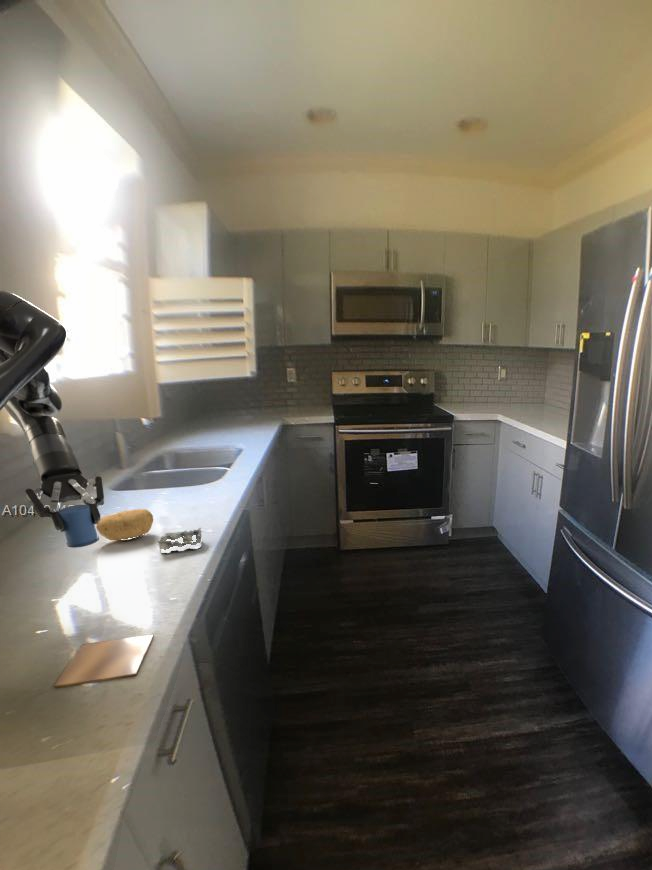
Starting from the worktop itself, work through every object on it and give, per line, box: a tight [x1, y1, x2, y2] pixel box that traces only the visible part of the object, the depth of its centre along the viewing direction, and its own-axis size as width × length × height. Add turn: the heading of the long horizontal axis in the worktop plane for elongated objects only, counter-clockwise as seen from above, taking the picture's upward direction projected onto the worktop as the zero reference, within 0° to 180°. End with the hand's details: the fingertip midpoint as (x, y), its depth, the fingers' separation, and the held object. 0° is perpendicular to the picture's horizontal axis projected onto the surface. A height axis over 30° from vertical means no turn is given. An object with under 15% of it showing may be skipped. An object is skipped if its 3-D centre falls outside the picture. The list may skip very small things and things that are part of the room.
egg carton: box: [157, 527, 203, 550], centre depth 121 cm, size 11×8×4 cm
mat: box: [54, 634, 155, 689], centre depth 78 cm, size 12×11×1 cm
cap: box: [59, 504, 100, 549], centre depth 96 cm, size 6×6×8 cm
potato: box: [95, 508, 154, 541], centre depth 127 cm, size 10×14×8 cm
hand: (80, 525), depth 94 cm, fingers closed on cap, 5 cm apart
